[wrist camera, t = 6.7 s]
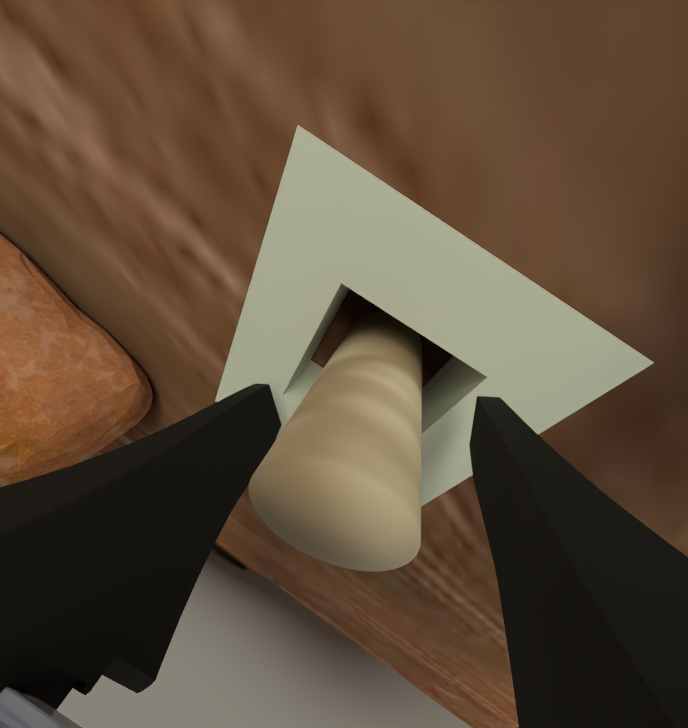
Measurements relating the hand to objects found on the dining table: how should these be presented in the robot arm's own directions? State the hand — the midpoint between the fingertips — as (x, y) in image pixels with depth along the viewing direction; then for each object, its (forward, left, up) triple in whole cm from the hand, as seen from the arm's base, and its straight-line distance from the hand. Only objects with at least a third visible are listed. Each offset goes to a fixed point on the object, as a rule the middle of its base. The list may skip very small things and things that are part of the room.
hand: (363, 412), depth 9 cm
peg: (0, 0, -5) cm, 5 cm away
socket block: (0, 0, -5) cm, 5 cm away
